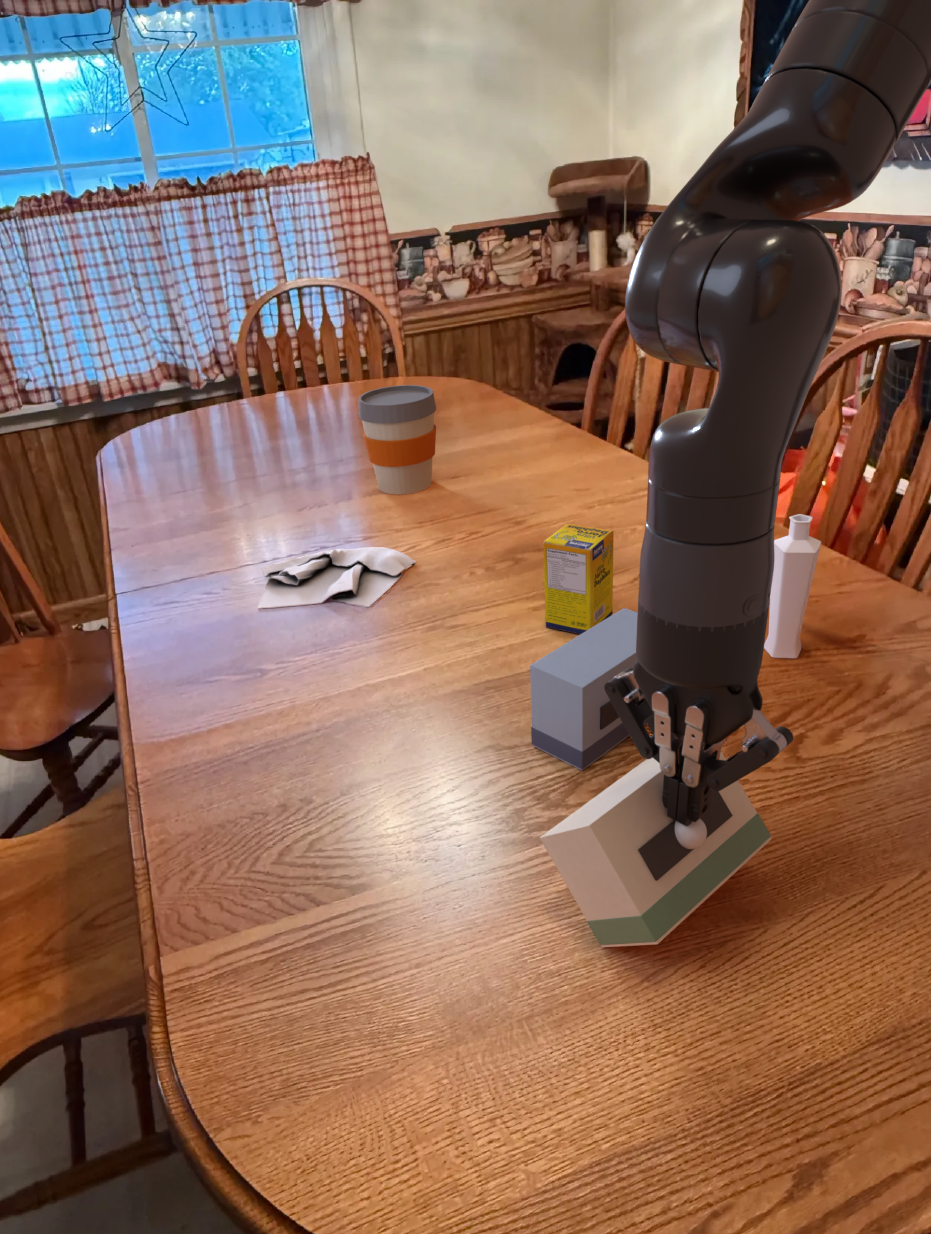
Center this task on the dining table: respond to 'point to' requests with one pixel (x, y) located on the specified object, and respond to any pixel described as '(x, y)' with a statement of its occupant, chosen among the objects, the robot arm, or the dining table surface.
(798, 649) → the perfume bottle
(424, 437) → the reusable coffee cup
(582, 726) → the blue tissue box
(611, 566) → the supplement box
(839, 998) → the dining table surface
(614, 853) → the cream tissue box
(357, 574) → the cloth
